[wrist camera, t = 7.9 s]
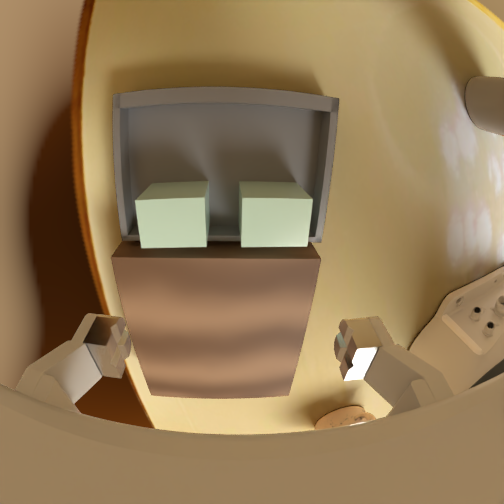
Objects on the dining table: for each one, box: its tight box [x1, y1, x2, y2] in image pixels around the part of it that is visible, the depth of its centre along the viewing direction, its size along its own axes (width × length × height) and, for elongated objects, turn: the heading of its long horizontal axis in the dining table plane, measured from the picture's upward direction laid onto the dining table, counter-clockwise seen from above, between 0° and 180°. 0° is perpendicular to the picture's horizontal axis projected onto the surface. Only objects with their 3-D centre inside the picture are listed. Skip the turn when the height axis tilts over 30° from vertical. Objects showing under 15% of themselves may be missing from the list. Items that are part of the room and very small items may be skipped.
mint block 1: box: [135, 181, 210, 248], centre depth 17 cm, size 4×4×3 cm
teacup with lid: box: [315, 406, 376, 430], centre depth 32 cm, size 12×9×12 cm
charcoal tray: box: [113, 87, 339, 242], centre depth 17 cm, size 10×14×2 cm
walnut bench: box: [111, 241, 321, 399], centre depth 23 cm, size 16×14×4 cm
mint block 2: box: [238, 181, 313, 247], centre depth 18 cm, size 4×4×3 cm
